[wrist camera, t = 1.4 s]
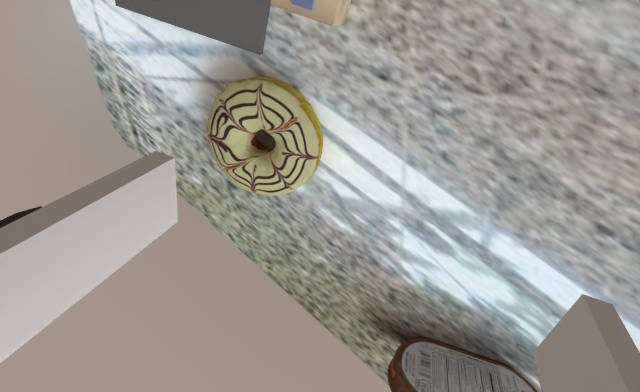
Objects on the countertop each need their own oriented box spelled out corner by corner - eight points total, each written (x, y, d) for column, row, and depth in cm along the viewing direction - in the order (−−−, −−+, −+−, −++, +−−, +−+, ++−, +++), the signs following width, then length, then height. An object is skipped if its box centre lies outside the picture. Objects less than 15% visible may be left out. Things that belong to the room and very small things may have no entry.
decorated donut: (201, 117, 34) (176, 127, 30) (279, 47, 29) (259, 51, 25) (266, 200, 36) (249, 218, 33) (349, 150, 31) (339, 166, 28)
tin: (391, 341, 40) (381, 412, 32) (398, 322, 38) (390, 393, 31) (528, 389, 37) (551, 478, 30) (542, 371, 35) (569, 461, 28)
